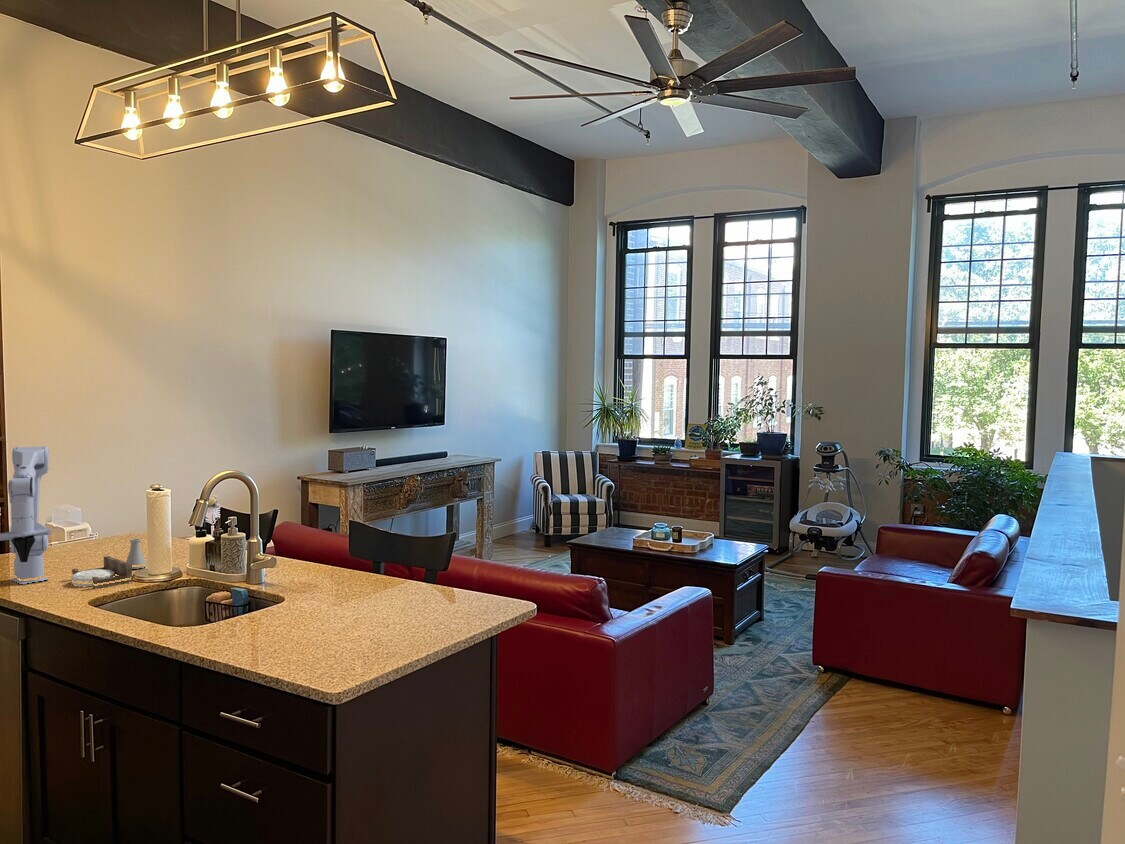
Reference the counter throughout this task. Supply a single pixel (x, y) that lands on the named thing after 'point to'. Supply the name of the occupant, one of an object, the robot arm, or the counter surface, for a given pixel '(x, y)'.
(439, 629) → the counter surface
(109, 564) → the lid holder
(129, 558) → the flask
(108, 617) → the counter surface
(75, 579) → the mooncake
